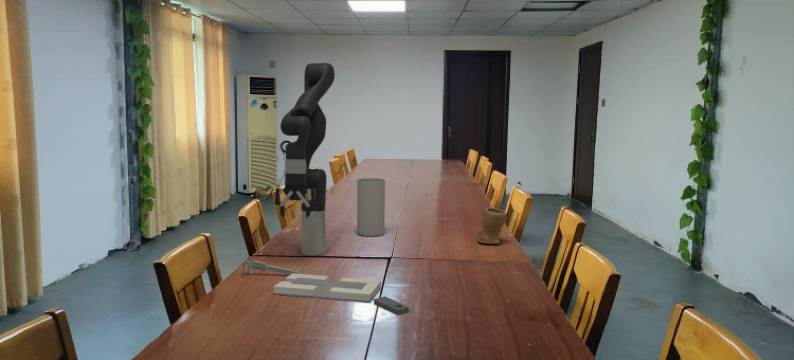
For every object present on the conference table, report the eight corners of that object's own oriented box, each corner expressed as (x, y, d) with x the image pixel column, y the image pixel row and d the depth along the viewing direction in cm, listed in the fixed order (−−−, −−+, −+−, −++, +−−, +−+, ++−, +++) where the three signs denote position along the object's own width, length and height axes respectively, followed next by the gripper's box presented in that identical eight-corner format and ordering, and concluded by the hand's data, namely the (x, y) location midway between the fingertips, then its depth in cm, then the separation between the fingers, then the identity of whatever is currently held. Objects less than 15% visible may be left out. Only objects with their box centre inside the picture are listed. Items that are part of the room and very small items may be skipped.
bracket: (384, 302, 162) (384, 295, 162) (409, 313, 154) (409, 306, 153) (373, 305, 159) (373, 298, 159) (397, 317, 151) (397, 309, 151)
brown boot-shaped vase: (505, 246, 231) (507, 211, 229) (477, 245, 232) (478, 210, 230) (502, 238, 246) (504, 205, 244) (476, 237, 247) (477, 204, 245)
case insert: (292, 280, 180) (292, 273, 180) (381, 288, 174) (381, 280, 174) (274, 294, 166) (274, 286, 166) (369, 302, 160) (369, 294, 160)
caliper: (244, 275, 186) (244, 257, 186) (246, 274, 187) (245, 256, 187) (305, 277, 185) (305, 258, 184) (306, 276, 186) (305, 258, 185)
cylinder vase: (383, 237, 245) (384, 181, 242) (355, 236, 245) (356, 181, 242) (384, 231, 257) (385, 178, 254) (358, 230, 257) (358, 178, 254)
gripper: (316, 171, 200) (316, 216, 201) (277, 171, 200) (277, 215, 201) (314, 172, 193) (313, 218, 194) (273, 172, 192) (273, 218, 193)
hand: (295, 217), depth 197 cm, fingers open, 8 cm apart
